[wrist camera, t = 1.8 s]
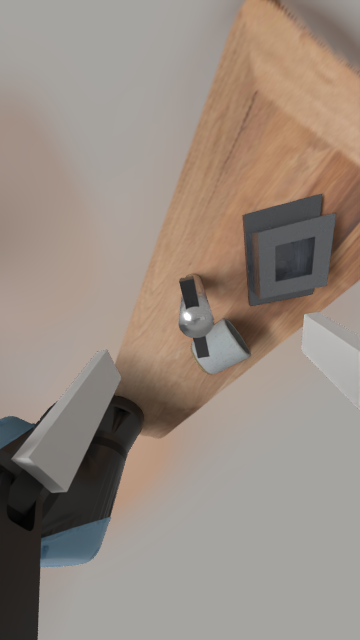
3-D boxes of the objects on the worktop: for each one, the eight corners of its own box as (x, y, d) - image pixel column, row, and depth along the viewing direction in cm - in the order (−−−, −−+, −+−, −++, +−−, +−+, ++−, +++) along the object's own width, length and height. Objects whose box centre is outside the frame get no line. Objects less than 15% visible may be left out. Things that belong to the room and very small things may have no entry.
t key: (205, 302, 30) (219, 354, 17) (188, 306, 31) (188, 359, 17) (197, 256, 27) (206, 275, 14) (177, 261, 28) (167, 284, 14)
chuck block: (248, 304, 30) (257, 314, 26) (242, 215, 24) (252, 211, 21) (309, 292, 29) (328, 301, 25) (318, 194, 23) (344, 186, 19)
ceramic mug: (187, 336, 34) (187, 362, 27) (220, 311, 31) (230, 332, 24) (219, 367, 37) (227, 397, 30) (252, 346, 34) (269, 374, 27)
